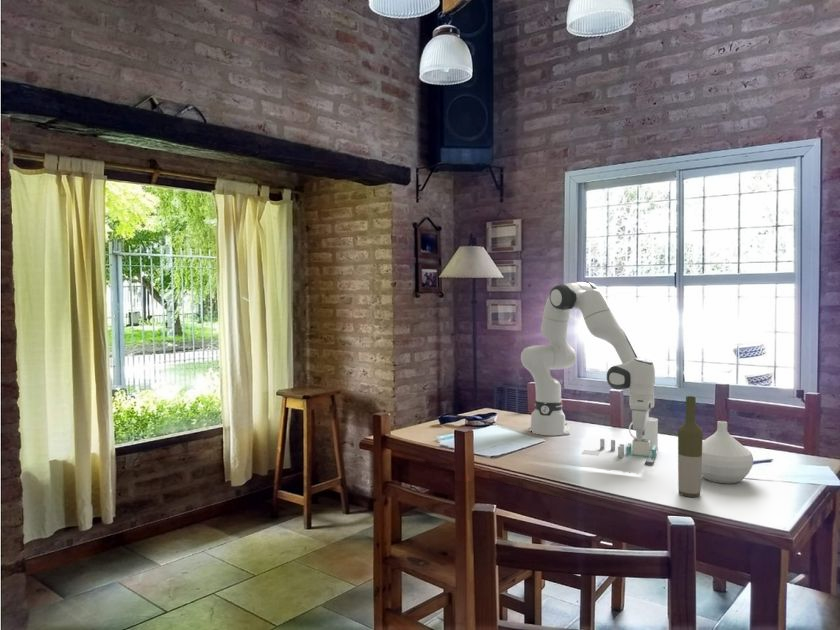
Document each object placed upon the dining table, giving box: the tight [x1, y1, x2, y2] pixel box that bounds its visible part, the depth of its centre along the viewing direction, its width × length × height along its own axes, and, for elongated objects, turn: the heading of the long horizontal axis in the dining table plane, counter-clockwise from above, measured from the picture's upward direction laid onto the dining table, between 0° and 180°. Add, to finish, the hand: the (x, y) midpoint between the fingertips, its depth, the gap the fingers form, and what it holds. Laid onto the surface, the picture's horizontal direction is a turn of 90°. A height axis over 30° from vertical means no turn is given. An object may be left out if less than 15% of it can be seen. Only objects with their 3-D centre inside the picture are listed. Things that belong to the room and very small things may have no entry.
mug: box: [628, 416, 659, 452], centre depth 247 cm, size 12×8×12 cm
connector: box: [631, 438, 651, 456], centre depth 232 cm, size 4×6×5 cm, turn 65°
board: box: [581, 438, 658, 466], centre depth 234 cm, size 15×26×5 cm, turn 65°
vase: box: [701, 420, 754, 484], centre depth 204 cm, size 18×18×19 cm
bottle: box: [677, 396, 704, 498], centre depth 188 cm, size 7×7×30 cm
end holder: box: [625, 442, 657, 458], centre depth 233 cm, size 7×10×3 cm
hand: (640, 437), depth 233 cm, fingers open, 8 cm apart
